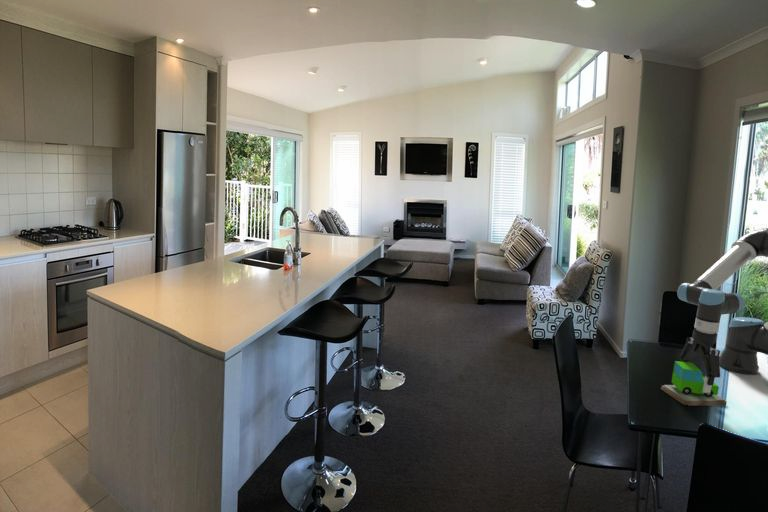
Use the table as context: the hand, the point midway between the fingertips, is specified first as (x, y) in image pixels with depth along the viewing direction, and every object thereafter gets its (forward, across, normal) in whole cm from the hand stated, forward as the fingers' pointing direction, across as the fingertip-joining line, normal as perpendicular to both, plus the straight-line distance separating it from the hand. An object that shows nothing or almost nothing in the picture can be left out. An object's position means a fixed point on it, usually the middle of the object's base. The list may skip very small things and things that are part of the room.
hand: (694, 385), depth 187 cm
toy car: (+3, 0, 0) cm, 3 cm away
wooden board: (+5, 0, 0) cm, 5 cm away
